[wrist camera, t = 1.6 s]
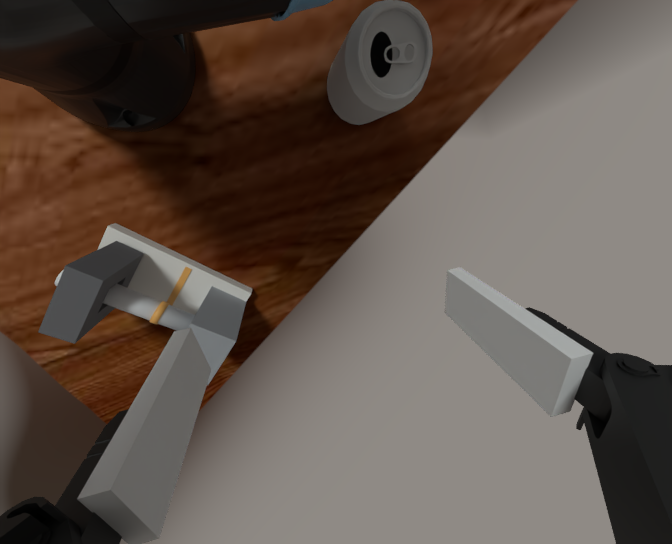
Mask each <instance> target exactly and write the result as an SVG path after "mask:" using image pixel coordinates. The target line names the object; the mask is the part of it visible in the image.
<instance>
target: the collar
mask: <svg viewBox="0 0 672 544" xmlns="http://www.w3.org/2000/svg"><path fill="white" fill-rule="evenodd" d="M143 255H144V253H142V252H140V251H138V250H136V249H134V248H131V247H129V246H127V245H125V244H123V243H120V242H118V241H115V242H113V243H111V244H109V245H107V246H105V247H103V248H101V249H99V250H97V251H94V252H92V253H90V254H88V255H86V256H84V257H82V258H80V259H78V260H76V261H74V262H72V263H70V264H68V265H66V266H65V268H64V270H63V273H62V275H61V278H60V280H59V283H58V285H57V287H56V290H55V292H54V295H53V297H52V300H51V302H50V305H49V307H48V309H47V312H46V314H45V317H44V319H43V322H42V324H41V327H40V329H39V331H38V332H39V333H42V334H46V335H49V336H52V337H55V338H58V339H62V340H65V341H68V342H71V343H74V344H75V343H76V342H77V341H78V340H79V339H80V338H81V337H83V336H84V335H85V334H86V333H87V332H88V331H89V330H91V329H92V328H93V327H94V326H95V325H96V324H97V323H98V322H100V321H101V320H102V319H103V318H104V317H105V316H106V315H108V314H109V313H110V312H111V311H112V310H113V309H114V308H115V307H112V306H109V305H107V304H104V303H103V301H104V299H105V297H106V295H107V293H108V291H109V289H110V288H111V287H113V286H114V285H116V284H119V285H122V286H124V287H128V285H129V283H130V281H131V279H132V277H133V275H134V273H135V271H136V269H137V267H138V265H139V263H140V261H141V259H142V257H143Z"/></svg>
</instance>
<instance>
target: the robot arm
mask: <svg viewBox="0 0 672 544" xmlns="http://www.w3.org/2000/svg"><path fill="white" fill-rule="evenodd" d="M331 1H332V0H0V78H2V79H5V80H9V81H12V82H16V83H19V84H23V85H27V86H30V87H33V88H34V89H36V90H37V91H38V92H40V93H41V94H43V95H44V96H45V97H47V98H48V99H49V100H51V101H52V102H54V103H55V104H56V105H58V106H59V107H61V108H62V109H64V110H66V111H67V112H69V113H71V114H72V115H74V116H76V117H78V118H80V119H83V120H85V121H87V122H90V123H92V124H95V125H98V126H102V127H105V128H110V129H115V130H121V131H128V132H142V131H149V130H153V129H156V128H159V127H161V126H164V125H165V124H167V123H169V122H170V121H172V120H173V119H174V118H175V117H176V116H177V115H178V114H179V113H180V112H181V111H182V110H183V108H184V107H185V105H186V104H187V102H188V100H189V97H190V95H191V92H192V89H193V85H194V79H195V55H194V48H193V43H192V40H191V36H190V32H196V31H201V30H206V29H212V28H217V27H223V26H228V25H234V24H239V23H244V22H250V21H255V20H261V19H266V18H271V19H272V20H273V21H280V20H284V19H286V18H287V17H288V16H290V15H291V14H292V13H294V12H298V11H302V10H306V9H310V8H314V7H318V6H322V5H325V4H327V3H329V2H331ZM445 313H446V314H447V315H448V316H449V317H450V318H451V319H452V320H453V321H454V322H455V323H456V324H457V325H458V326H459V327H460V328H461V329H462V330H463V331H464V332H465V333H466V334H467V335H468V336H469V337H470V338H471V339H472V340H473V341H474V342H475V343H476V344H477V345H478V346H479V347H481V349H482V350H484V352H485V353H486V354H487V355H488V356H490V357H491V358H492V359H493V360H494V361H495V362H496V363H497V364H498V365H499V366H500V367H501V368H502V369H503V370H504V371H505V372H506V373H507V374H508V375H509V376H510V377H511V378H512V379H513V380H514V381H515V382H516V383H517V384H518V385H519V386H520V387H521V388H522V389H523V390H524V391H525V392H526V393H527V394H528V395H529V396H530V397H531V398H532V399H533V400H534V401H535V402H536V403H537V404H538V405H539V406H540V407H541V408H543V409H544V411H546V412H547V413H548V414H549V415H550V416H551V417H553V416H556V415H559V414H563V413H566V412H569V411H570V410H571V408H572V405H573V403H574V400H577V401H578V402H579V403H580V404H581V405H582V406H584V408H583V410H582V413H581V415H580V417H579V420H578V422H577V429H578V430H581V428H582V426H583V424H584V423H585V427H586V431H587V434H588V438H589V442H590V446H591V449H592V453H593V457H594V461H595V464H596V468H597V472H598V476H599V480H600V483H601V487H602V491H603V495H604V499H605V502H606V506H607V510H608V514H609V518H610V522H611V525H612V529H613V533H614V537H615V540H616V544H672V365H654V364H652V363H651V362H649V361H646V360H644V359H642V358H639V357H637V356H633V355H629V354H623V353H613V354H610V353H608V352H607V351H605V350H603V349H602V348H600V347H598V346H597V345H595V344H594V343H592V342H591V341H589V340H587V339H586V338H584V337H582V336H580V335H579V334H577V333H576V332H574V331H573V330H571V329H567V327H566V326H564V325H563V324H561V323H560V322H557V321H556V320H554V319H553V318H551V317H549V316H548V315H547V314H545V313H543V312H540V311H537V310H535V309H532V308H523V307H521V306H520V305H518V304H517V303H515V302H514V301H512V300H510V299H509V298H507V297H506V296H504V295H503V294H501V293H500V292H498V291H497V290H495V289H494V288H492V287H490V286H489V285H487V284H486V283H484V282H483V281H481V280H479V279H478V278H477V277H475V276H473V275H472V274H470V273H469V272H467V271H466V270H464V269H463V268H461V267H459V268H454V269H450V270H447V283H446V301H445ZM210 373H211V368H210V366H209V364H208V362H207V360H206V358H205V356H204V353H203V351H202V349H201V347H200V345H199V343H198V341H197V339H196V337H195V335H194V333H193V331H192V329H191V328H188V329H183V330H179V331H174V333H173V334H172V336H171V338H170V340H169V341H168V343H167V345H166V346H165V348H164V350H163V352H162V353H161V355H160V357H159V359H158V360H157V362H156V364H155V365H154V367H153V369H152V371H151V372H150V374H149V376H148V377H147V379H146V381H145V383H144V384H143V386H142V388H141V390H140V391H139V393H138V395H137V396H136V398H135V400H134V402H133V403H132V405H131V407H130V408H129V410H125V411H121V412H119V413H118V414H117V415H116V416H115V417H114V418H113V419H112V420H111V421H110V422H109V423H108V424H107V425H106V426H105V428H104V429H103V431H102V432H101V434H100V436H99V437H98V439H97V440H96V442H95V445H94V446H93V447H92V448H91V450H90V451H89V453H88V454H87V458H86V459H85V460H84V461H83V462H82V464H81V466H80V467H79V469H78V470H77V472H76V474H75V475H74V477H73V478H72V480H71V481H70V483H69V485H68V486H67V488H66V490H65V491H64V493H63V494H62V496H61V497H60V499H59V501H58V502H57V504H56V505H55V506H54V505H53V504H51V503H50V502H49V501H48V500H46V499H45V498H44V497H33V498H30V499H27V500H25V501H22V502H21V503H19V504H17V505H16V506H14V507H12V508H11V509H9V510H7V511H6V512H5V513H4V514H2V515H1V516H0V544H119V543H120V540H121V538H122V539H123V540H124V541H126V542H127V543H128V544H142V543H145V542H148V541H152V540H155V539H158V538H159V537H160V534H161V531H162V528H163V524H164V521H165V518H166V514H167V511H168V508H169V505H170V502H171V498H172V495H173V492H174V489H175V485H176V482H177V479H178V476H179V472H180V469H181V466H182V463H183V460H184V456H185V453H186V450H187V447H188V443H189V440H190V437H191V434H192V431H193V427H194V424H195V421H196V417H197V415H198V411H199V408H200V405H201V402H202V398H203V395H204V392H205V389H206V385H207V382H208V379H209V376H210Z"/></svg>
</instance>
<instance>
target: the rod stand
mask: <svg viewBox="0 0 672 544" xmlns="http://www.w3.org/2000/svg"><path fill="white" fill-rule="evenodd" d="M115 241H118V242H120V243H123V244H125V245H127V246H129V247H131V248H134V249H136V250H138V251H140V252H142V253H144V255H143V257H142V259H141V261H140V263H139V265H138V267H137V269H136V271H135V273H134V275H133V277H132V279H131V281H130V283H129V285H128V287H124V286H122V285H119V284H116V285H114V286H113V287H111V288H110V289H109V291H108V293H107V295H106V297H105V299H104V301H103V303H104V304H107V305H109V306H112V307H115V308H117V309H120V310H123V311H125V312H128V313H131V314H133V315H136V316H139V317H141V318H144V319H147V320H150V321H149V322H151V323H154V324H156V325H157V324H160V325H163V326H166V327H168V328H171V329H174V330H176V331H179V330H183V329H188V328H191V329H192V331H193V333H194V335H195V337H196V339H197V341H198V343H199V345H200V347H201V349H202V351H203V353H204V356H205V358H206V360H207V362H208V364H209V366H210V368H211V373H210V376H209V379H208V382H207V385H208V384H209V383H210V381H211V380H212V378H213V377H214V375H215V373H216V372H217V370H218V369H219V367H220V366H221V364H222V363H223V361H224V359H225V358H226V356H227V355H228V353H229V352H230V350H231V349H232V347H233V346H234V344H235V342H236V340H237V336H238V332H239V329H240V325H241V321H242V317H243V313H244V309H245V305H246V301H247V300H248V298H249V297H250V295H251V293H252V288H250V287H248V286H246V285H244V284H242V283H240V282H237V281H235V280H233V279H231V278H229V277H227V276H225V275H223V274H221V273H219V272H217V271H214V270H212V269H210V268H208V267H206V266H204V265H202V264H200V263H198V262H196V261H194V260H191V259H189V258H187V257H185V256H183V255H181V254H179V253H177V252H175V251H173V250H171V249H169V248H166V247H164V246H162V245H160V244H158V243H156V242H154V241H152V240H150V239H148V238H146V237H143V236H141V235H139V234H137V233H135V232H133V231H131V230H129V229H127V228H125V227H123V226H121V225H118V224H116V223H114V224H111V225H109V226H108V227H107V229H106V231H105V234H104V236H103V238H102V241H101V243H100V245H99V247H98V250H99V249H101V248H103V247H105V246H107V245H109V244H111V243H113V242H115ZM62 273H63V271H62V272H61V273H60V274H59V275H58V277H57V278H56V281H55V285H56V286H57V285H58V283H59V280H60V278H61V275H62Z"/></svg>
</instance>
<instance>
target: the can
mask: <svg viewBox="0 0 672 544" xmlns="http://www.w3.org/2000/svg"><path fill="white" fill-rule="evenodd" d="M431 58H432V37H431V33H430V30H429V27H428V24H427V22H426V20H425V19H424V17H423V16H422V14H421V13H420V11H419V10H417V9H416V8H415V7H413V6H412V5H411V4H409V3H407V2H403V1H398V0H394V1H393V0H385V1H380V2H375V3H374V4H372V5H371V6H369V7H368V8H366V9H365V10H364V11H362V12H361V14H360V15H359V17H358V18H357V19H356V21H355V22H354V23H353V25H352V27H351V28H350V30H349V32H348V34H347V36H346V38H345V40H344V42H343V44H342V46H341V48H340V50H339V52H338V54H337V56H336V57H335V59H334V61H333V63H332V65H331V68H330V71H329V74H328V78H327V93H328V98H329V102H330V104H331V106H332V108H333V110H334V112H335V113H336V114H337V115H338V116H339V117H340V118H341V119H342V120H344V121H346V122H348V123H350V124H356V125H362V124H366V123H369V122H372V121H374V120H376V119H379V118H381V117H383V116H386V115H388V114H390V113H392V112H395V111H397V110H399V109H401V108H403V107H404V106H406V105H407V104H409V103H410V102H412V101H413V99H414V98H415V97H416V96H417V94H418V93H419V92H420V91H421V89H422V87H423V85H424V82H425V80H426V78H427V76H428V71H429V68H430V64H431Z"/></svg>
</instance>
